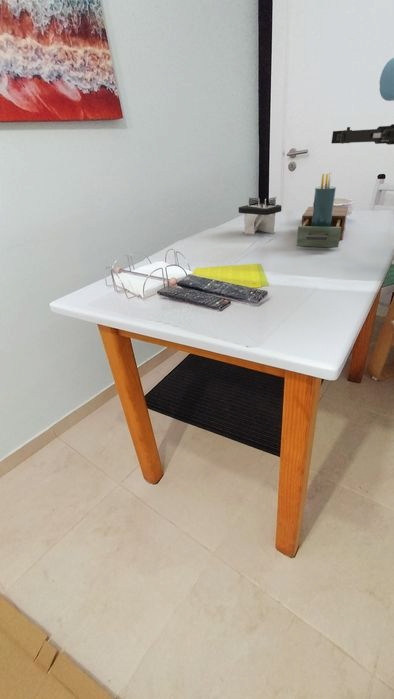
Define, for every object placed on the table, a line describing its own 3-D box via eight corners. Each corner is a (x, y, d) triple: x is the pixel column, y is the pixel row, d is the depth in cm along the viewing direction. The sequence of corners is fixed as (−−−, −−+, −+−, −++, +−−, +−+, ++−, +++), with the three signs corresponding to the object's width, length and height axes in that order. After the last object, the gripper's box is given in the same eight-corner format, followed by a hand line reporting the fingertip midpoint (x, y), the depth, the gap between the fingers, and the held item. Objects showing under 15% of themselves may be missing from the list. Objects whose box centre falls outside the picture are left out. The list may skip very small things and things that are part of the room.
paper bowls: (351, 225, 129) (354, 203, 125) (309, 225, 134) (311, 204, 130) (351, 217, 141) (354, 196, 136) (312, 217, 146) (315, 197, 141)
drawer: (337, 251, 101) (340, 231, 98) (294, 249, 106) (295, 230, 103) (341, 235, 115) (343, 217, 112) (303, 234, 120) (304, 217, 117)
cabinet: (342, 240, 114) (345, 215, 110) (300, 238, 119) (302, 215, 115) (344, 228, 126) (348, 206, 122) (306, 228, 131) (308, 206, 127)
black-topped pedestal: (210, 236, 133) (208, 200, 126) (256, 223, 146) (257, 189, 139) (263, 248, 114) (264, 206, 107) (311, 232, 126) (315, 194, 119)
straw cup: (330, 235, 113) (338, 170, 102) (328, 239, 108) (337, 173, 98) (311, 234, 115) (318, 171, 105) (309, 239, 110) (315, 173, 100)
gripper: (368, 156, 71) (312, 155, 88) (461, 150, 76) (391, 150, 94) (377, 113, 67) (316, 120, 84) (474, 109, 72) (398, 117, 90)
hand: (355, 136), depth 89 cm, fingers open, 13 cm apart
